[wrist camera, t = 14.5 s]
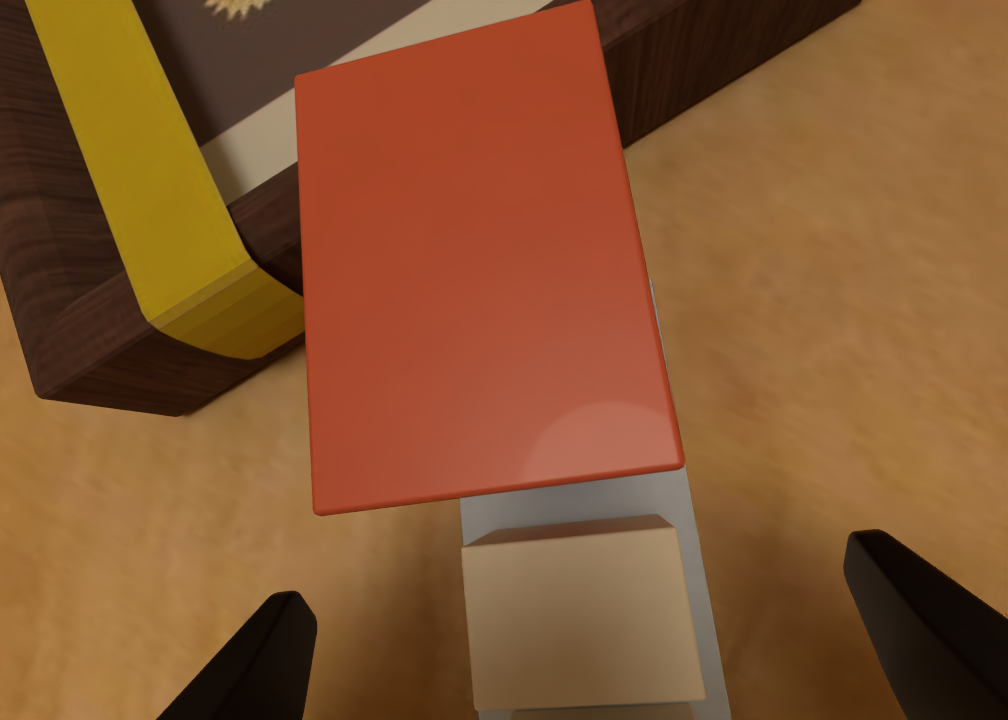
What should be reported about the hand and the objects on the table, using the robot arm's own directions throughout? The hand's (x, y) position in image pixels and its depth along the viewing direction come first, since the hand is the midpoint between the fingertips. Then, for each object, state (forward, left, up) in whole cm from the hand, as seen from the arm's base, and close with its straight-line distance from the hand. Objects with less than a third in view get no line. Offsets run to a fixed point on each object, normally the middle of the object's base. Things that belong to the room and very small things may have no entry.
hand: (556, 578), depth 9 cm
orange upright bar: (+4, 0, -8) cm, 9 cm away
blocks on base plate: (-1, 0, -8) cm, 8 cm away
